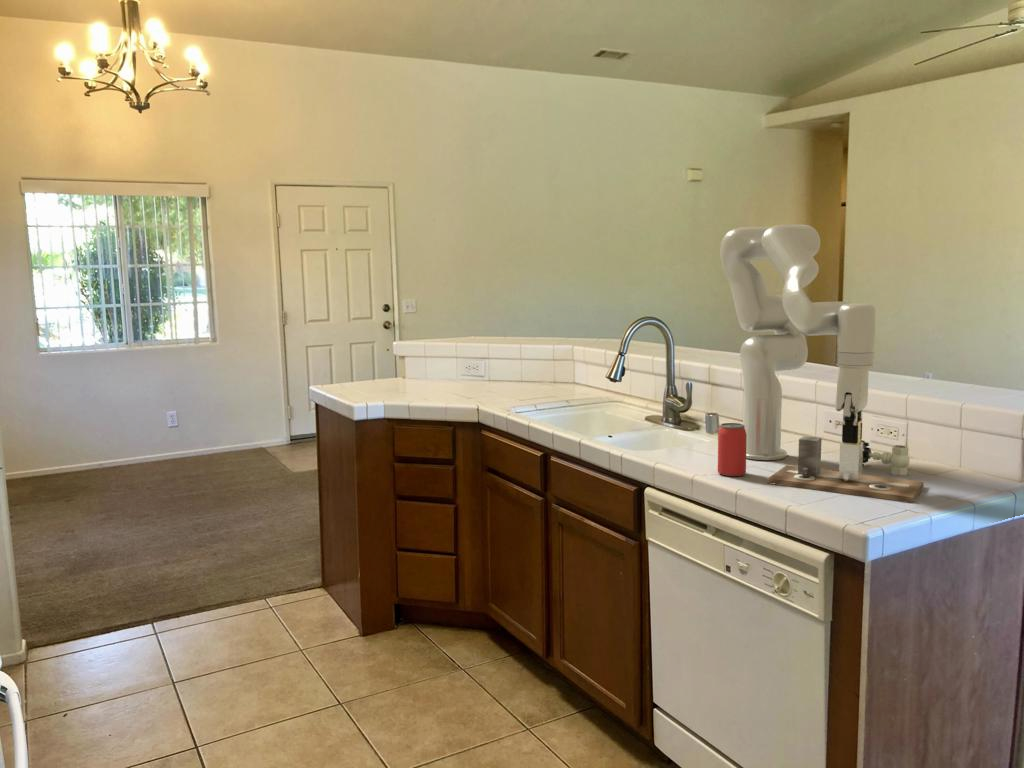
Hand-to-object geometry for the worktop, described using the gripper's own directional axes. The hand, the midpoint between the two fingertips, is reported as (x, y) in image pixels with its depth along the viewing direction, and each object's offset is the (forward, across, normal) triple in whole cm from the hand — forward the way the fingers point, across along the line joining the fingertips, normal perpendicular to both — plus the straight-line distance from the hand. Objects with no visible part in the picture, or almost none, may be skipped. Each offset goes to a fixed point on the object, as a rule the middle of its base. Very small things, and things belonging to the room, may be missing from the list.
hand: (851, 440), depth 177 cm
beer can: (+10, +4, -26) cm, 28 cm away
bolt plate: (+10, +1, -1) cm, 10 cm away
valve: (+11, -17, +4) cm, 21 cm away
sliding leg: (+9, +1, 0) cm, 9 cm away
